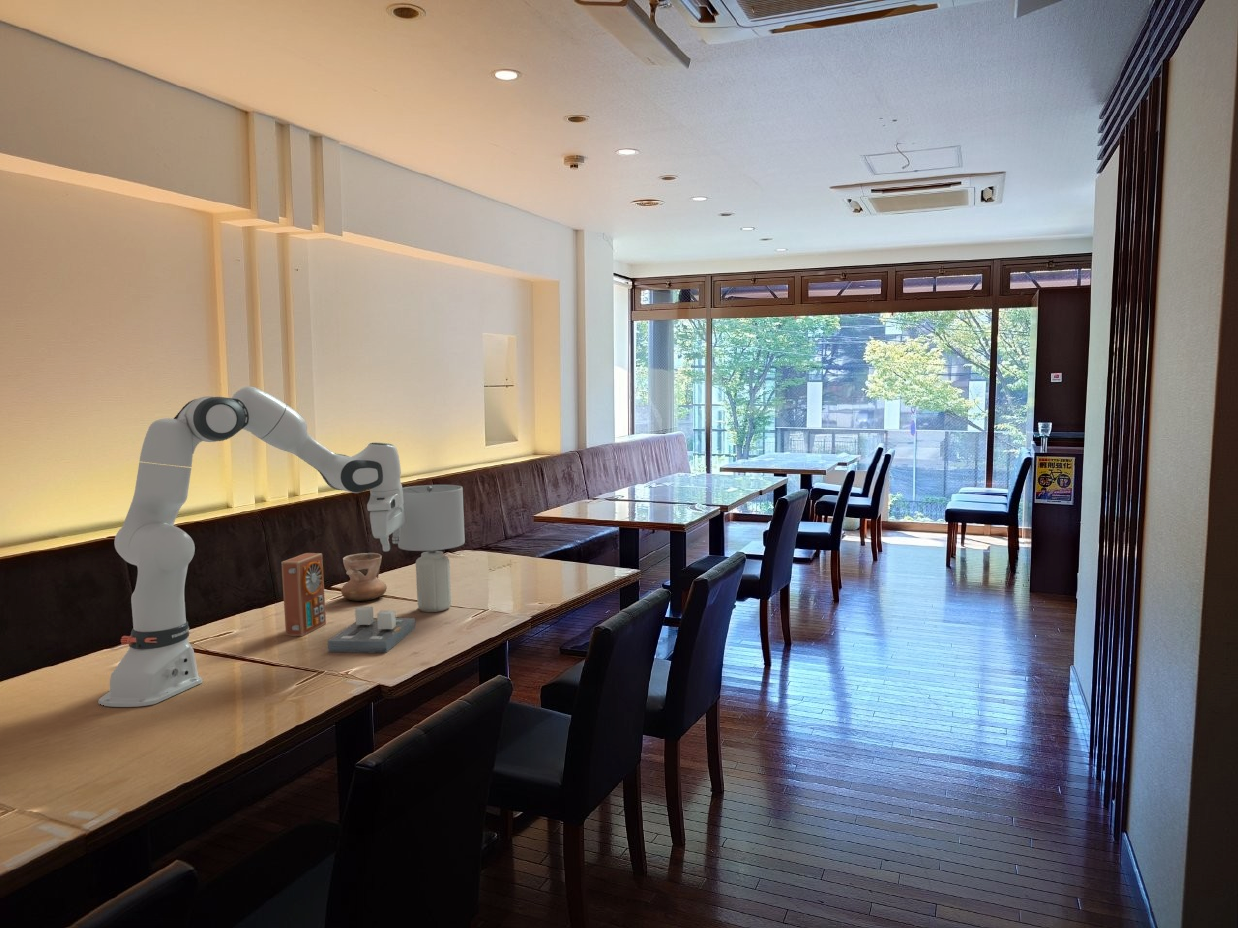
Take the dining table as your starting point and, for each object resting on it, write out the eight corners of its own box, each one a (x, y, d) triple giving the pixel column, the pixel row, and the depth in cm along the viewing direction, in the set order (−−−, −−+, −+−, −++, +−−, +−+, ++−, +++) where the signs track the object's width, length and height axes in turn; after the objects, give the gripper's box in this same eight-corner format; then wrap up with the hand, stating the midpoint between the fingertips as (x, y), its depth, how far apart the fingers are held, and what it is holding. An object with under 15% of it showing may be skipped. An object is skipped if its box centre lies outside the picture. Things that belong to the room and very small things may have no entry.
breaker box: (386, 652, 220) (386, 641, 219) (328, 652, 221) (327, 640, 221) (415, 628, 241) (414, 617, 241) (361, 627, 243) (361, 617, 243)
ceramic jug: (370, 606, 267) (367, 562, 266) (330, 603, 271) (328, 561, 270) (398, 592, 285) (396, 551, 283) (361, 590, 288) (359, 550, 287)
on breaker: (369, 624, 234) (368, 609, 233) (355, 624, 234) (355, 609, 234) (373, 621, 237) (372, 606, 236) (360, 621, 237) (359, 606, 237)
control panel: (330, 622, 249) (302, 637, 235) (309, 621, 251) (280, 636, 236) (326, 552, 247) (297, 563, 233) (305, 551, 249) (275, 562, 234)
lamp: (430, 621, 248) (424, 492, 244) (387, 611, 260) (381, 488, 257) (480, 606, 264) (475, 484, 260) (438, 597, 276) (433, 481, 273)
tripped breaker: (391, 629, 229) (391, 613, 228) (377, 628, 229) (377, 613, 229) (395, 625, 232) (395, 610, 231) (382, 625, 232) (381, 610, 232)
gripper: (386, 493, 245) (391, 539, 247) (364, 506, 225) (369, 556, 227) (408, 492, 245) (412, 538, 247) (387, 505, 225) (392, 554, 227)
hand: (391, 546), depth 237 cm, fingers open, 8 cm apart
